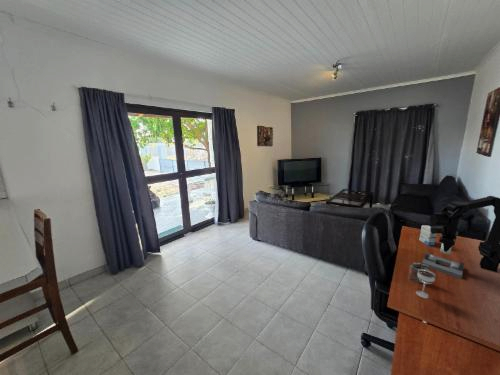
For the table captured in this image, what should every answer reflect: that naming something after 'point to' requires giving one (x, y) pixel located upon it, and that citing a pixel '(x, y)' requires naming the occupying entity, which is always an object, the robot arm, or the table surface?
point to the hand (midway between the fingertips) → (445, 249)
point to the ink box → (427, 235)
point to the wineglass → (425, 280)
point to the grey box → (416, 271)
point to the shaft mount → (454, 269)
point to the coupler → (444, 251)
